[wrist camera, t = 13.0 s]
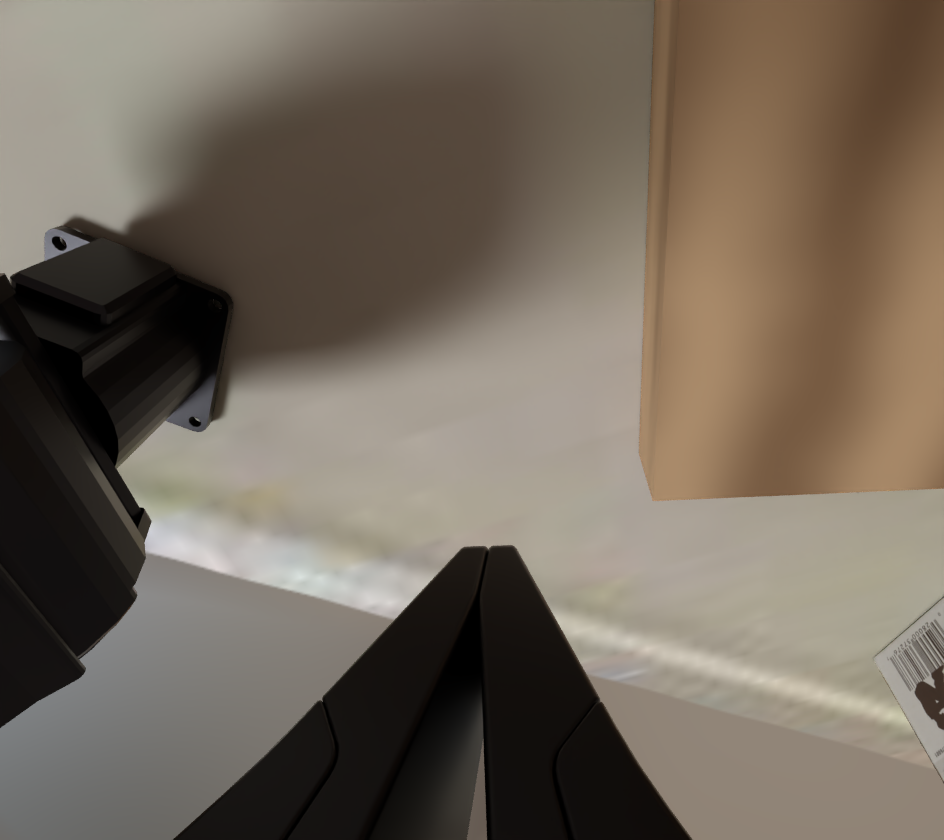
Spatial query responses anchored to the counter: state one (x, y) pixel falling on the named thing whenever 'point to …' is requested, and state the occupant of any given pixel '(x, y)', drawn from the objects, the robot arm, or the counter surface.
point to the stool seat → (794, 249)
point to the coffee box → (920, 679)
